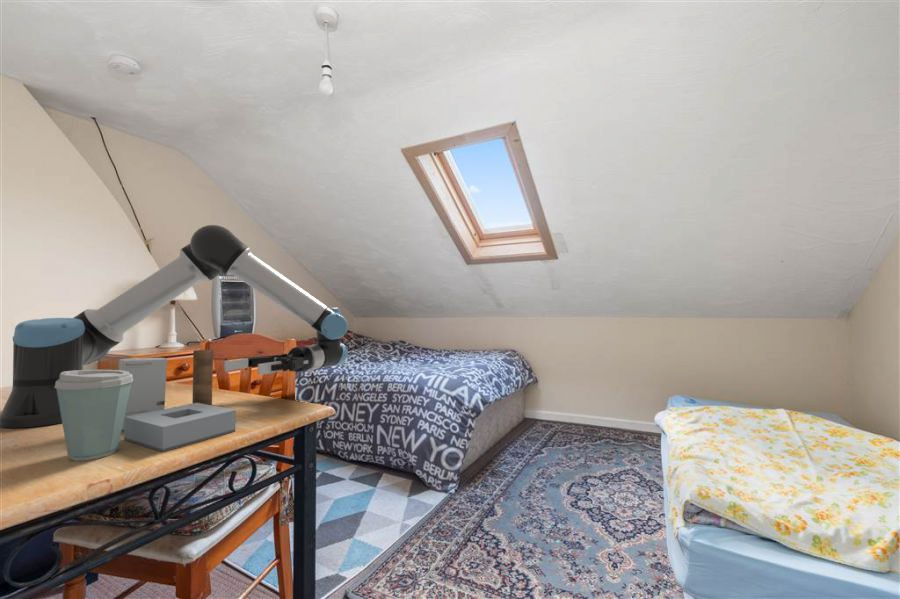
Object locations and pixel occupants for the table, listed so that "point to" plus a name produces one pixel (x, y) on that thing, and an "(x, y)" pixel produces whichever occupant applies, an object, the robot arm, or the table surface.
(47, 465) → the table surface
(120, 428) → the disposable coffee cup
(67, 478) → the table surface
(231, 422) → the bore block
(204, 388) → the walnut dowel
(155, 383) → the skincare box
